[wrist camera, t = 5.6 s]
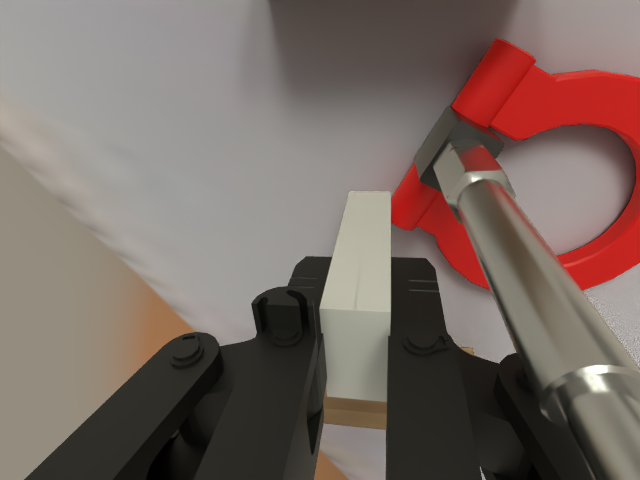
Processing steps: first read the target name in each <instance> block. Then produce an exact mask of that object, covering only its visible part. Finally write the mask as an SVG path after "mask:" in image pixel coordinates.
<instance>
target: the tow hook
mask: <svg viewBox="0 0 640 480" xmlns="http://www.w3.org/2000/svg"><path fill="white" fill-rule="evenodd" d="M535 62H536V60H535V58H534V57H533V56H532V55H530V54H529V53H527V52H525V51H524V50H522V49H520V48H519V47H517V46H515V45H513V44H511V43H509V42H507V41H505V40H502V39H498V38H495V39H494V41H493V43H492V44H491V46H490V47H489V49H488V50H487V52H486V53H485V55H484V56H483V58H482V59H481V61H480V63H479V64H478V66H477V67H476V69H475V70H474V72H473V73H472V75H471V76H470V78H469V79H468V81H467V83H466V84H465V86H464V87H463V89H462V90H461V92H460V93H459V95H458V96H457V98H456V99H455V101H454V102H453V104H452V106H449V107H447V108H446V109H445V111H444V112H443V114H442V116H441V117H440V119H439V120H438V122H437V123H436V125H435V126H434V128H433V129H432V131H431V133H430V134H429V136H428V137H427V139H426V140H425V142H424V143H423V145H422V146H421V148H420V150H419V151H418V153H417V154H416V156H415V160H414V161H415V162H414V164H413V165H412V167H411V169H410V170H409V172H408V173H407V175H406V176H405V178H404V179H403V181H402V182H401V184H400V185H399V187H398V188H397V190H396V192H395V193H394V195H393V196H392V198H391V222H392V223H393V224H395V225H396V226H398V227H400V228H402V229H405V230H409V231H411V230H414V229H415V227H416V226H417V227H419V228H421V229H423V230H425V231H427V232H429V233H431V234H433V235H435V237H436V240H437V244H438V247H439V249H440V250H441V252H442V253H443V254H444V256H445V257H446V259H447V260H448V262H449V263H450V265H451V266H452V267H453V268H454V269H455V270H457V271H458V272H459V273H460V274H462V275H463V276H464V277H465V278H467V279H468V280H469V281H470V282H472V283H474V284H477V285H479V286H481V287H483V288H486V289H488V290H490V291H491V292H492V294H493V297H494V299H495V302H496V304H497V306H498V309H499V311H500V314H501V316H502V318H503V321H504V323H505V326H506V328H507V330H508V333H509V335H510V338H511V340H512V343H513V345H514V347H515V350H516V352H517V355H518V357H519V359H520V362H521V364H522V367H523V369H524V371H525V374H526V376H527V379H528V381H529V383H530V386H531V388H532V391H533V393H534V396H535V398H536V400H537V403H538V405H539V408H540V410H541V412H542V414H543V415H544V416H545V417H546V418H547V419H548V420H549V421H551V422H553V423H554V424H556V425H558V426H561V427H564V428H567V429H569V430H570V432H571V434H572V437H573V439H574V441H575V443H576V445H577V447H578V450H579V452H580V454H581V456H582V458H583V460H584V462H585V465H586V467H587V469H588V471H589V473H590V475H591V477H592V480H640V368H639V367H638V365H637V364H636V363H635V361H634V360H633V359H632V357H631V356H630V355H629V353H628V352H627V350H626V349H625V348H624V346H623V345H622V344H621V342H620V341H619V340H618V338H617V337H616V336H615V334H614V333H613V332H612V330H611V329H610V328H609V326H608V325H607V324H606V322H605V321H604V320H603V318H602V317H601V315H600V314H599V313H598V311H597V310H596V309H595V307H594V306H593V305H592V303H591V302H590V301H589V299H588V298H587V297H586V295H585V294H584V293H583V290H586V289H588V288H591V287H593V286H596V285H599V284H601V283H604V282H606V281H609V280H611V279H614V278H615V277H617V276H619V275H620V274H622V273H624V272H625V271H627V270H629V269H630V268H632V267H634V266H635V265H637V264H639V263H640V78H638V77H634V76H629V75H623V74H617V73H611V72H605V71H599V70H585V71H576V72H567V73H557V74H552V75H550V74H548V73H546V72H544V71H543V70H541V69H539V68H538V67H536V66H534V64H535ZM581 124H587V125H593V126H599V127H604V128H608V129H610V130H612V131H614V132H616V133H617V134H618V135H619V136H620V137H621V138H622V139H623V140H624V141H625V142H626V143H627V144H628V145H629V147H630V150H631V152H632V155H633V157H634V160H635V162H636V184H635V187H634V190H633V193H632V197H631V200H630V202H629V203H628V205H627V207H626V208H625V210H624V211H623V213H622V214H621V216H620V218H619V219H618V220H617V221H616V222H615V223H614V224H613V225H612V226H611V227H610V228H609V229H608V230H607V231H606V232H605V233H604V234H602V235H601V236H599V237H598V238H596V239H595V240H593V241H592V242H590V243H589V244H587V245H586V246H583V247H581V248H579V249H576V250H574V251H572V252H569V253H567V254H563V255H559V256H556V255H555V254H554V252H553V251H552V250H551V248H550V247H549V245H548V244H547V243H546V241H545V240H544V239H543V237H542V236H541V235H540V233H539V232H538V231H537V229H536V228H535V227H534V225H533V224H532V223H531V221H530V220H529V219H528V217H527V216H526V215H525V213H524V212H523V210H522V209H521V208H520V206H519V205H518V204H517V202H516V201H515V196H516V195H515V193H514V191H513V189H512V186H511V184H510V182H509V180H508V178H507V176H506V174H505V172H504V171H503V169H502V167H501V166H500V165H499V164H498V163H497V161H496V160H495V159H496V157H497V156H498V155H499V153H500V152H501V151H502V150H503V148H504V144H503V143H502V142H501V141H500V140H499V138H498V137H497V136H496V135H495V134H494V133H493V132H492V131H491V130H490V129H489V128H488V127H491V128H493V129H495V130H497V131H498V132H500V133H502V134H504V135H506V136H507V137H509V138H511V139H513V140H515V141H518V140H526V139H527V138H529V137H531V136H533V135H534V134H537V133H540V132H543V131H546V130H550V129H553V128H556V127H559V126H569V125H581Z"/></svg>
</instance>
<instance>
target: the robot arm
mask: <svg viewBox="0 0 640 480" xmlns="http://www.w3.org/2000/svg"><path fill="white" fill-rule="evenodd" d="M251 305H252V310H253V315H254V320H255V325H256V330H257V335H256V337H255V338H253V339H251V340H248V341H245V342H241V343H236V344H230V345H225V346H219V343H218V342H217V340H216V338H215V337H213V336H211V335H210V334H208V333H201V332H194V333H188V334H184V335H182V336H179V337H177V338H175V339H173V340H171V341H170V342H169V343H167V344H166V345H164V346H163V347H162V348H161V349H160V350H159V351H158V352H157V353H156V354H155V355H154V356H153V357H152V358H151V359H150V360H148V361H147V362H146V363H145V364H144V365H143V366H142V367H141V368H140V369H139V370H138V371H137V372H136V373H135V374H134V375H133V376H132V377H131V378H130V379H129V380H128V381H127V382H126V383H124V384H123V385H122V386H121V387H120V388H119V389H118V390H117V391H116V392H115V393H114V394H113V395H112V396H111V397H110V398H109V399H108V400H107V401H106V402H105V403H104V404H103V405H102V406H100V408H98V410H96V411H95V412H94V413H93V414H92V415H91V416H90V417H89V418H88V419H87V420H86V421H85V422H84V423H83V424H82V425H81V426H80V427H79V428H78V429H77V430H75V431H74V432H73V433H72V434H71V435H70V436H69V437H68V438H67V439H66V440H65V441H64V442H63V443H62V444H61V445H60V446H59V447H58V448H57V449H56V450H55V451H54V452H53V453H51V455H49V456H48V457H47V458H46V459H45V460H44V461H43V462H42V463H41V464H40V465H39V466H38V467H37V468H36V469H35V470H34V471H33V472H32V473H31V474H30V475H29V476H28V477H27V478H26V479H24V480H314V474H315V469H316V463H317V457H318V451H319V445H320V439H321V433H322V427H323V422H324V406H323V399H324V394H325V388H326V390H327V397H338V398H349V399H359V400H370V401H381V402H387V423H386V480H482V476H481V471H480V467H481V469H482V472H483V474H484V476H485V479H486V480H592V477H591V475H590V473H589V471H588V469H587V467H586V465H585V462H584V460H583V458H582V456H581V454H580V452H579V450H578V447H577V445H576V443H575V441H574V439H573V437H572V434H571V432H570V430H569V429H567V428H564V427H561V426H558V425H556V424H554V423H553V422H551V421H549V420H548V419H547V418H546V417H545V416H544V415H543V414H542V412H541V410H540V408H539V405H538V403H537V400H536V398H535V396H534V393H533V391H532V388H531V386H530V383H529V381H528V379H527V376H526V374H525V371H524V369H523V367H522V364H521V362H520V359H519V357H518V355H517V353H514V354H511V355H507V356H506V357H505V358H504V359H503V360H502V361H501V362H500V364H498V363H495V362H492V361H488V360H485V359H482V358H479V357H476V356H474V355H471V354H469V353H467V352H466V351H464V350H462V349H461V348H459V347H458V346H457V345H456V344H455V343H454V342H453V339H452V337H451V336H450V335H449V334H448V333H447V330H446V326H445V320H444V315H443V309H442V304H441V298H440V293H439V287H438V282H437V276H436V271H435V268H434V267H433V266H432V265H431V263H430V262H429V261H428V260H427V259H426V258H396V257H391V191H349V194H348V198H347V202H346V206H345V210H344V214H343V218H342V222H341V226H340V229H339V233H338V237H337V241H336V245H335V249H334V253H333V257H314V256H306V257H305V258H304V259H302V260H301V261H300V262H299V263H298V264H297V265H296V266H295V269H294V271H293V274H292V276H291V278H290V281H289V283H288V286H285V287H276V288H273V289H270V290H267V291H265V292H263V293H262V294H260V295H259V296H257V297H256V298H255V300H254V301H253V302H252V303H251Z"/></svg>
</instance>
